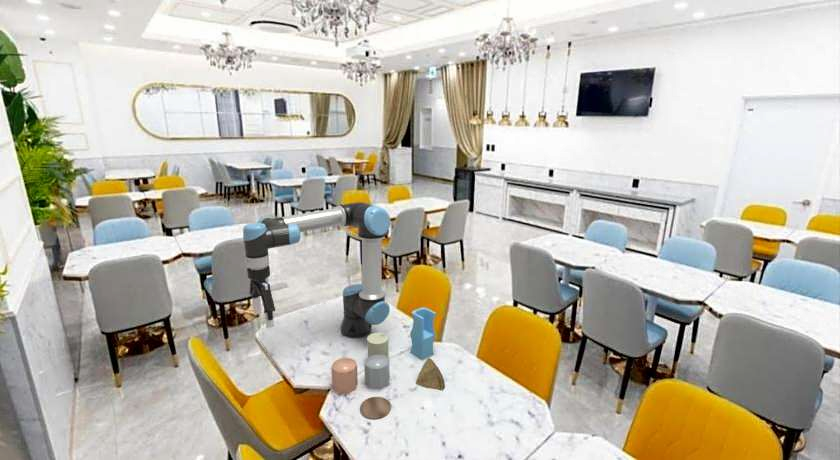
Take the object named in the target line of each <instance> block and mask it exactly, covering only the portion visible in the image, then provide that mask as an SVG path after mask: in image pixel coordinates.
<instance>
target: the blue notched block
mask: <svg viewBox="0 0 840 460" xmlns="http://www.w3.org/2000/svg"><path fill="white" fill-rule="evenodd" d="M411 313H412V314H411V315H412V321H413V322H412V327H411V330H410V332H409V335H410V340H411V349H410V351H409V353H410V354H412V356H414V357H416V358H418V359H419V360H421V361H422V360H423V361H424V360H427V359H428V358H431V357H432V356H433V355H434V354H435V353H434V341H435V339H436V334H437V333H436V332H435V328H434V320H435V317H436V312H435V311H433V310H431V309H430V308H427V307H419V308H417V309H414V310H413V311H412V312H411Z"/></svg>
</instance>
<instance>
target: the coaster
mask: <svg viewBox="0 0 840 460" xmlns="http://www.w3.org/2000/svg"><path fill="white" fill-rule="evenodd" d="M391 410H392V405H391V402H390V401H389V400H388V398H385V397H382V396H372V397H368V398H366V399H364V400H363V401H362V402H361V404H360V406H359V412H360V414H361V415H362V417H364V418H366V419H368V420H380V419H384V418H385V417H387V416H388V414H390V412H391Z"/></svg>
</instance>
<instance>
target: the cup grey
mask: <svg viewBox="0 0 840 460" xmlns="http://www.w3.org/2000/svg"><path fill="white" fill-rule="evenodd" d="M389 382H390V360H389V359H388V358H387V357H386V356H384V355H372V356H370V357H368V356H367V358H366V359H365V361H364V385H365V386H366V387H368V388H369V390H379V391H380V390H382V389H385V388H386V387H388V386H389Z"/></svg>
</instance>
